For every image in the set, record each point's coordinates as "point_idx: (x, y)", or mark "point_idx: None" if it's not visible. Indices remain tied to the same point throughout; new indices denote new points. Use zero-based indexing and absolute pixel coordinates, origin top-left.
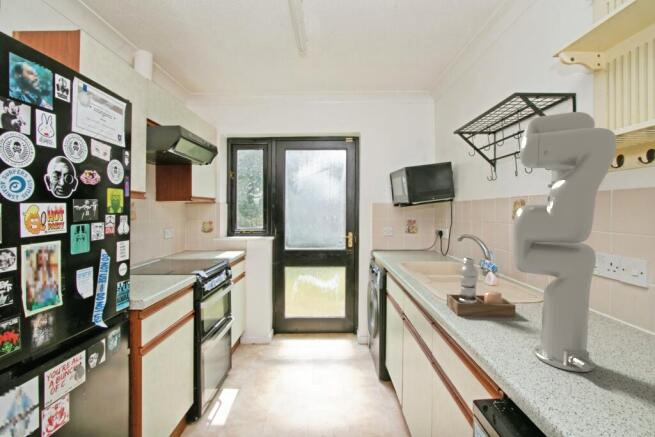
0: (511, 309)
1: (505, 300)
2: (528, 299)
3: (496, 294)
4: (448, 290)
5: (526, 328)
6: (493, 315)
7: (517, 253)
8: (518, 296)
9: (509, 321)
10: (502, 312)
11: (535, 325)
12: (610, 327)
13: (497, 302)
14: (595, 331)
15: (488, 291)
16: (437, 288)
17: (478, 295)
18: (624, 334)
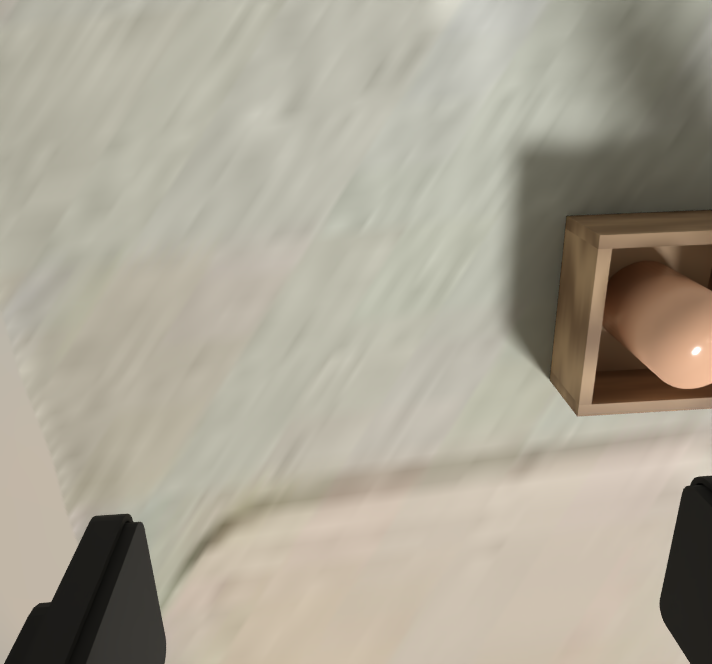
0: (612, 226)
1: (600, 325)
2: (290, 543)
3: (695, 317)
4: (656, 623)
5: (596, 71)
6: (693, 214)
7: None
8: (318, 583)
9: (622, 173)
10: (653, 221)
11: (513, 126)
12: (91, 144)
13: (674, 282)
14: (222, 68)
15: (702, 378)
16: None
17: (705, 402)
18: (79, 37)
